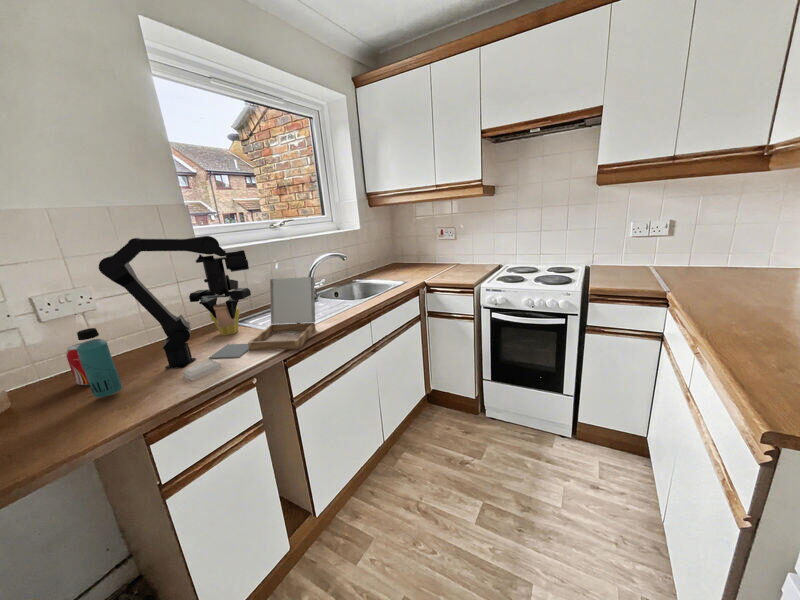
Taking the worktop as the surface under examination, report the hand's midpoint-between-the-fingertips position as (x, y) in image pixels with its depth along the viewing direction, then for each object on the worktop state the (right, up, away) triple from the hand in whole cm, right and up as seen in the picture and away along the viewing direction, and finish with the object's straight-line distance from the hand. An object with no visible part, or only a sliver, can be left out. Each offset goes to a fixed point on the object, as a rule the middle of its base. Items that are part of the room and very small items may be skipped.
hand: (225, 318), depth 116 cm
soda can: (-35, -19, -11) cm, 42 cm away
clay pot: (0, -2, +1) cm, 2 cm away
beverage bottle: (-21, -21, -21) cm, 36 cm away
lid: (+17, +6, +19) cm, 26 cm away
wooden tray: (+17, -8, +10) cm, 21 cm away
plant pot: (-10, -7, +23) cm, 26 cm away
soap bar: (-1, -16, -11) cm, 20 cm away
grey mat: (+1, -12, +3) cm, 12 cm away
